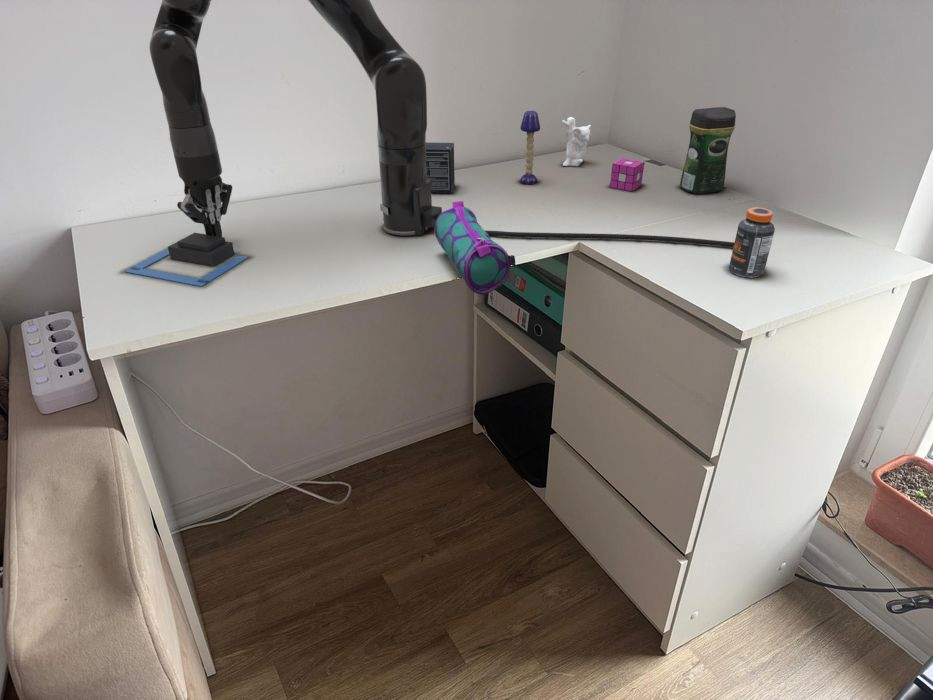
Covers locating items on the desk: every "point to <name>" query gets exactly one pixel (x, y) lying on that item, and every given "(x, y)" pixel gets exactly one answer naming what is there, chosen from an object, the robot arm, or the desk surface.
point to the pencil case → (472, 249)
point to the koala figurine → (576, 142)
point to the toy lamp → (529, 144)
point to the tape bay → (177, 278)
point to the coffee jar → (708, 149)
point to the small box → (440, 167)
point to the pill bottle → (752, 243)
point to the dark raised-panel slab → (201, 249)
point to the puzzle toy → (627, 174)
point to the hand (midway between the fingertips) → (215, 240)
